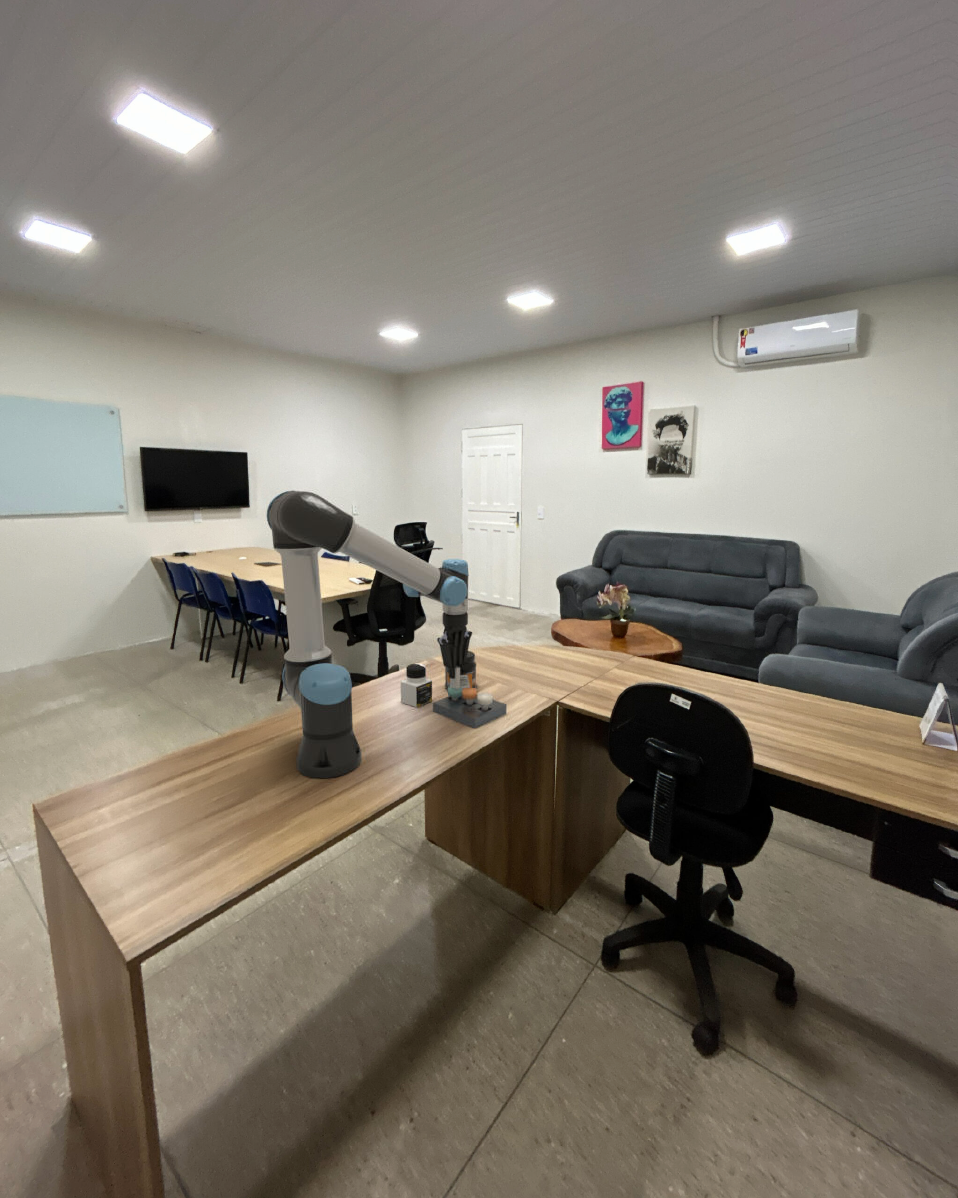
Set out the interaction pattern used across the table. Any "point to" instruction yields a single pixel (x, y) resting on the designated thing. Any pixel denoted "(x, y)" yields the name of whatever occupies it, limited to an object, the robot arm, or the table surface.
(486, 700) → the ivory button
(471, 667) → the supplement container
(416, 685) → the medicine bottle
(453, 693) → the teal button
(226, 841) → the table surface
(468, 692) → the orange button
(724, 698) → the table surface
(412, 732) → the table surface
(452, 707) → the console
